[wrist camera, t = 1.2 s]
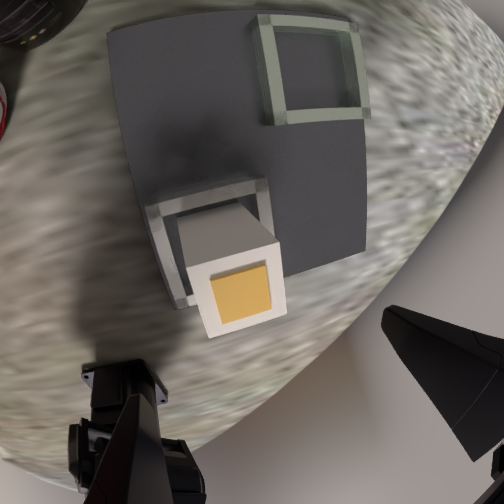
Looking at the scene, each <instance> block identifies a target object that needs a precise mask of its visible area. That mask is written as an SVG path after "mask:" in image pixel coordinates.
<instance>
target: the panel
mask: <svg viewBox="0 0 504 504" xmlns="http://www.w3.org/2000/svg"><path fill="white" fill-rule="evenodd" d="M107 42H108V52H109V60H110V68H111V76H112V82H113V89H114V95H115V101H116V107H117V112H118V118H119V123H120V128H121V133H122V137H123V142H124V146H125V151H126V155H127V160H128V164H129V168H130V172H131V176H132V180H133V184H134V187H135V191H136V195H137V199H138V202H139V206H140V209H141V213H142V216H143V219H144V223H145V226H146V229H147V233H148V236H149V239H150V242H151V245H152V248H153V251H154V254H155V257H156V260H157V263H158V266H159V269H160V272H161V275H162V278H163V280H164V283H165V286H166V289H167V291H168V294H169V297H170V299H171V302H172V305H173V307H174V310H176V309H178V310H179V309H182V308H186V307H189V306H193V305H196V304H197V302H196V299H195V296H194V292H193V289H192V286H191V283H190V280H189V277H188V273H187V270H186V266H185V261H184V256H183V251H182V245H181V240H180V234H179V229H178V223H177V218H178V217H182V216H186V215H189V214H193V213H197V212H201V211H205V210H208V209H212V208H216V207H220V206H224V205H228V204H233V203H237V202H240V203H241V204H242V205H243V206H244V207H245V208H246V209H247V210H248V211H249V212H250V213H251V214H252V215H253V216H254V217H255V218H256V219H257V220H258V221H259V222H260V223H261V224H262V225H263V226H264V227H265V228H266V229H267V230H268V231H269V232H270V233H271V234H272V235H273V236H274V237H275V238H276V239H277V240H278V241H279V242H280V251H281V260H282V270H283V278H284V277H288V276H291V275H294V274H297V273H300V272H303V271H306V270H309V269H312V268H316V267H319V266H322V265H325V264H328V263H331V262H334V261H337V260H340V259H343V258H346V257H349V256H352V255H354V254H357V253H360V252H363V251H365V247H366V223H367V170H366V146H365V130H364V119H371V110H370V100H369V91H368V83H367V75H366V68H365V62H364V56H363V50H362V44H361V39H360V34H359V29H358V24H356V23H350V22H349V19H348V18H345V17H339V16H333V15H326V14H318V13H310V12H299V11H285V10H230V11H215V12H205V13H196V14H189V15H182V16H175V17H170V18H164V19H159V20H154V21H150V22H145V23H141V24H137V25H133V26H129V27H126V28H122V29H119V30H115V31H112V32H109V33H107Z"/></svg>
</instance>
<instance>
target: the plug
mask: <svg viewBox="0 0 504 504" xmlns="http://www.w3.org/2000/svg"><path fill="white" fill-rule="evenodd" d="M177 223H178V229H179V234H180V240H181V245H182V251H183V256H184V261H185V266H186V270H187V273H188V277H189V280H190V283H191V286H192V289H193V292H194V296H195V299H196V302H197V305H198V308H199V311H200V314H201V317H202V320H203V323H204V326H205V329H206V331H207V334H208V337H209V338H212V337H216V336H219V335H223V334H226V333H229V332H233V331H236V330H239V329H242V328H245V327H249V326H252V325H255V324H258V323H261V322H264V321H267V320H270V319H273V318H276V317H279V316H282V315H285V314H287V310H286V300H285V290H284V280H283V270H282V260H281V251H280V242H279V241H278V240H277V239H276V238H275V237H274V236H273V235H272V234H271V233H270V232H269V231H268V230H267V229H266V228H265V227H264V226H263V225H262V224H261V223H260V222H259V221H258V220H257V219H256V218H255V217H254V216H253V215H252V214H251V213H250V212H249V211H248V210H247V209H246V208H245V207H244V206H243V205H242V204H241V203H240V202H237V203H233V204H228V205H224V206H220V207H216V208H212V209H208V210H205V211H201V212H197V213H193V214H189V215H186V216H182V217H178V218H177Z"/></svg>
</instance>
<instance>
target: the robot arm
mask: <svg viewBox="0 0 504 504" xmlns="http://www.w3.org/2000/svg"><path fill="white" fill-rule="evenodd" d="M381 327H382V330H383V332H384V333H385V335H386V336H387V338H388V340H389V341H390V343H391V344H392V346H393V348H394V350H395V351H396V353H397V354H398V356H399V358H400V359H401V360H402V362H403V363H404V364H405V366H406V367H407V368H408V370H409V371H410V372H411V374H412V375H413V376H414V378H415V379H416V380H417V382H418V383H419V384H420V386H421V387H422V388H423V390H424V391H425V392H426V394H427V395H428V397H429V398H430V400H431V401H432V402H433V404H434V405H435V406H436V408H437V409H438V411H439V412H440V414H441V415H442V416H443V418H444V419H445V420H446V422H447V424H448V425H449V427H450V428H451V429H452V431H453V433H454V434H455V436H456V437H457V439H458V440H459V442H460V443H461V445H462V446H463V447H464V449H465V451H466V452H467V454H468V455H469V457H470V458H471V460H472V461H473V462H475V461H476V460H478V459H479V458H480V457H482V456H483V455H484V454H486V453H487V452H488V451H489V450H491V449H492V448H493V447H494V446H495V445H497V444H498V443H499V442H500V441H501V444H500V445H499V446H498V447H497V448H496V450H495V451H494V452H493V462H492V470H491V477H492V478H493V479H494V480H495V482H494V483H493V484H492V485H491V486H490V487H489V488H488V489H487V490H486V492H484V494H483V495H482V496H481V497H480V498H479V499H478V500H477V501H476V502H475V503H474V504H504V339H501V338H497V337H493V336H489V335H485V334H482V333H479V332H476V331H473V330H472V331H471V330H470V329H467V328H463V327H460V326H457V325H454V324H451V323H448V322H445V321H442V320H439V319H436V318H433V317H430V316H427V315H424V314H421V313H418V312H415V311H412V310H408V309H405V308H403V307H400V306H397V305H390V306H388V307H386V308H385V309H384V311H383V316H382V322H381ZM81 377H82V378H83V380H84V381H85V382H86V383H87V385H88V386H89V387H90V388H91V389H92V393H91V404H90V406H91V408H92V409H91V421H88V419H85V418H82V417H81V420H80V423H79V424H72V425H70V426H69V434H68V470H69V472H70V473H71V474H72V475H73V476H74V478H75V482H76V483H77V488H78V492H79V493H82V494H85V501H84V503H83V504H205V501H206V494H205V483H204V479H203V476H202V474H201V472H200V470H199V468H198V466H197V464H196V463H195V461H194V458H193V456H192V455H191V453H190V451H189V449H188V447H187V444H186V442H185V441H184V440H179V439H178V440H172V439H166V438H161V435H160V428H159V420H158V411H157V405H161V404H165V403H167V402H168V397H167V395H166V394H165V393H164V391H163V390H162V388H161V387H160V385H159V383H158V382H157V380H156V379H155V377H154V376H153V374H152V373H151V371H150V369H149V368H148V366H147V364H146V363H145V361H143V360H141V359H137V360H132V361H128V362H123V363H119V364H114V365H109V366H104V367H99V368H94V369H89V370H84V371H82V374H81Z"/></svg>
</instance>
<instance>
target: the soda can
mask: <svg viewBox="0 0 504 504" xmlns="http://www.w3.org/2000/svg"><path fill="white" fill-rule="evenodd" d="M6 114H7V99H6V93H5V89H4V87H3V84H2V83H1V81H0V139H1V137H2V134H3V130H4V126H5V121H6Z"/></svg>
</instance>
